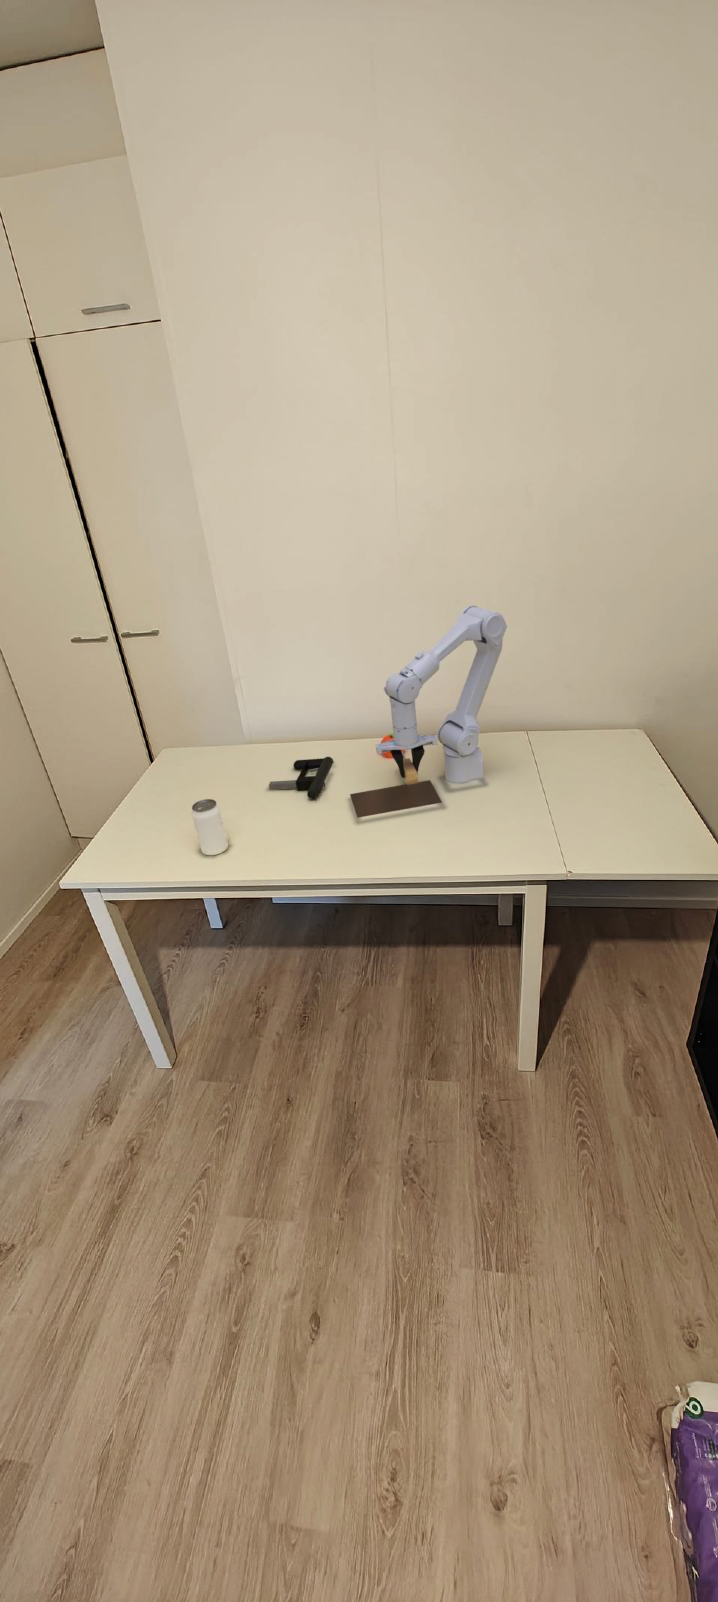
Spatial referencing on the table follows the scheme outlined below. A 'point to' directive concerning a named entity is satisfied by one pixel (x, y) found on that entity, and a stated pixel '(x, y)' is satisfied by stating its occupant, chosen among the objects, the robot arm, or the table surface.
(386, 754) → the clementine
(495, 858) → the table surface
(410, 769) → the knife
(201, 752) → the table surface
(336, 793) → the table surface
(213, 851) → the can
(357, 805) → the board
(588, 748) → the table surface
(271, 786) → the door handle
